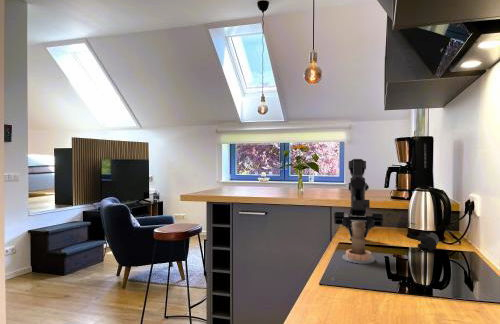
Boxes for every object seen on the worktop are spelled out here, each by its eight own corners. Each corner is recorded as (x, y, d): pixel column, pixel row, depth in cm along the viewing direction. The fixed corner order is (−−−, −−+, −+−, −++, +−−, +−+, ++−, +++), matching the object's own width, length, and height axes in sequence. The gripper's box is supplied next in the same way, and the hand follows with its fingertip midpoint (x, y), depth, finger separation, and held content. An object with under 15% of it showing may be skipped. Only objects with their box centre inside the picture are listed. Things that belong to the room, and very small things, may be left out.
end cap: (436, 253, 145) (436, 237, 145) (417, 251, 149) (417, 235, 149) (438, 248, 153) (438, 232, 153) (421, 246, 157) (421, 231, 157)
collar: (344, 253, 145) (344, 247, 145) (375, 256, 141) (375, 249, 141) (340, 261, 134) (340, 254, 134) (373, 265, 130) (373, 257, 130)
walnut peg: (356, 250, 141) (356, 220, 141) (367, 252, 137) (367, 222, 137) (349, 252, 138) (349, 222, 138) (360, 255, 134) (360, 223, 134)
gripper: (334, 191, 143) (332, 223, 133) (382, 192, 138) (385, 226, 128) (335, 208, 151) (334, 239, 141) (381, 209, 146) (383, 242, 135)
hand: (358, 236), depth 136 cm, fingers closed on walnut peg, 5 cm apart
